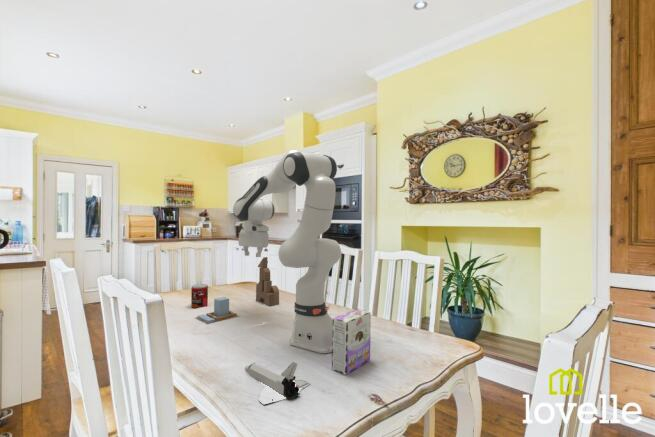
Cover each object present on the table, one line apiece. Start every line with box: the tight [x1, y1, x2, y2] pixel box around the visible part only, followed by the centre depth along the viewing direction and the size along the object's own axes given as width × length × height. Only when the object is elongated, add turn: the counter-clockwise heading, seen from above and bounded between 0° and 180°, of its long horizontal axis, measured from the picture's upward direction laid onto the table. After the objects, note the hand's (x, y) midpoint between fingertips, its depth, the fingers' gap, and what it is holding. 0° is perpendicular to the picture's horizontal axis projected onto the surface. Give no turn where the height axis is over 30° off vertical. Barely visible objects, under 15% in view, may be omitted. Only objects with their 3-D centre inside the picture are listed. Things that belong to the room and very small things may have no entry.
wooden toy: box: [255, 256, 280, 307], centre depth 181 cm, size 15×7×25 cm, turn 42°
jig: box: [194, 310, 241, 325], centre depth 150 cm, size 12×16×2 cm
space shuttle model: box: [244, 361, 311, 405], centre depth 95 cm, size 16×25×10 cm, turn 45°
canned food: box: [190, 283, 209, 310], centre depth 171 cm, size 8×8×11 cm
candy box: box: [331, 308, 371, 376], centre depth 106 cm, size 14×6×16 cm, turn 141°
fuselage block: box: [213, 296, 230, 317], centre depth 151 cm, size 4×5×8 cm
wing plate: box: [197, 314, 216, 324], centre depth 146 cm, size 10×3×1 cm, turn 47°
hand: (252, 256), depth 158 cm, fingers open, 8 cm apart
